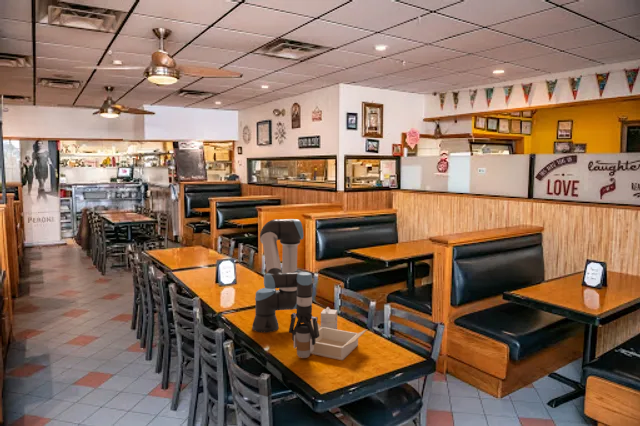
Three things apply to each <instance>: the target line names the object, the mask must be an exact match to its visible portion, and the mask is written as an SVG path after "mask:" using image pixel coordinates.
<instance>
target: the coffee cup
mask: <svg viewBox="0 0 640 426" xmlns="http://www.w3.org/2000/svg"><path fill="white" fill-rule="evenodd" d="M310 338H312V337H311V335H310V330H309V328H308V327H307V326H306V324H304V323H301V324H300V325H299V326H297V327H296V345H297V347H296V355H297V356H298V358H302V359H306V358H309V357H310V356H311V354H310Z"/></svg>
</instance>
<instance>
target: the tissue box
mask: <svg viewBox="0 0 640 426" xmlns="http://www.w3.org/2000/svg"><path fill="white" fill-rule="evenodd" d="M320 326H321V328H322V327H326V328H331V329H337V330H338V309H331V308H330V307H329V306H327V307H326V308H324V309H322V311H321V312H320Z"/></svg>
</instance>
